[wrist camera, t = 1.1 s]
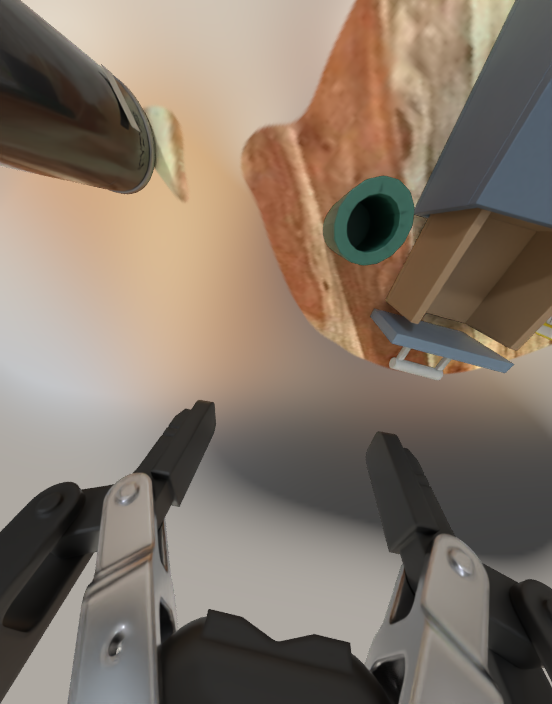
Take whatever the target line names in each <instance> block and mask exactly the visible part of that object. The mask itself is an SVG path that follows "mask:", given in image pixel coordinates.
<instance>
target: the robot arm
mask: <svg viewBox="0 0 552 704" xmlns="http://www.w3.org/2000/svg"><path fill="white" fill-rule="evenodd" d="M102 67H103V68H102ZM102 67H101V66H100V65H98V64H97V63H96V62H95V61H93V60H92V59H91V58H90V57H89V56H87V54H85V53H84V52H83V51H82V50H80V49H79V48H78V47H77V46H76V45H74V44H73V43H72V42H71V41H69V40H68V39H67V38H66V37H65V36H63V35H62V34H61V33H60V32H58V31H57V30H56V29H55V28H54V27H52V26H51V25H50V24H49V23H47V22H46V21H45V20H44V19H43V18H41V17H40V16H39V15H38V14H36V13H35V12H34V11H33V10H32V9H30V8H29V7H28V6H27V5H25V4H24V3H23V2H22V1H21V0H0V166H2V167H7V168H12V169H16V170H21V171H25V172H30V173H35V174H39V175H44V176H49V177H53V178H58V179H62V180H67V181H72V182H76V183H81V184H86V185H90V186H94V187H99V188H103V189H108V190H110V191H113V192H117V193H122V194H132V193H136V192H138V191H140V190H142V189H143V188H144V187H145V186H146V185H147V183H148V182H149V180H150V178H151V176H152V173H153V170H154V164H155V146H154V139H153V135H152V131H151V128H150V125H149V122H148V119H147V117H146V115H145V113H144V111H143V109H142V107H141V105H140V104H139V102H138V101H137V99H136V97H135V96H134V95H133V94H132V92H131V91H130V90H129V89H128V88H127V87H126V86H125V85H124V84H123V83H122V82H121V81H120V80H118V79H117V78H116V77H115V76H114V75H112V73H111V72H110V71H109V70H107V69H106V68H105V67H104V66H103V65H102ZM215 426H216V419H215V405H214V402H208V401H203V400H198V401H197V402H196V403H195V405H194V406H193V408H192V409H191V410H189V409H184V410H183V411H182V412H180V413H179V414H178V415H176V416H175V417H174V419H173V420H172V422H171V423H170V424H169V427H168V428H166V430H165V431H164V433H163V435H162V436H161V437H160V438H159V440H158V441H157V442H156V444H155V445H154V446H153V448H152V449H151V450H150V452H149V453H148V455H147V456H146V457H145V459H144V460H143V461H142V463H141V464H140V466H139V467H138V468H137V469H136V470H135V471H134V472H133V474H130V475H127V476H125V477H123V478H122V479H120V480H119V481H118V482H116V483H115V484H113V485H108V486H102V487H96V488H90V489H82V490H81V489H80V488H79V486H78V485H77V484H75V483H73V482H63V483H59V484H56V485H54V486H52V487H49V488H48V489H46V490H44V491H43V492H41V493H40V494H38V495H37V496H36V497H34V499H32V500H31V501H30V502H29V503H28V504H27V505H26V506H25V507H24V508H23V509H22V510H21V511H20V512H19V513H18V514H17V515H16V516H15V517H14V519H13V520H12V521H11V522H10V523H9V524H8V525H7V526H6V527H5V528H4V529H3V530H2V531H1V532H0V703H1V701H2V700H3V698H4V697H5V695H6V693H7V692H8V690H9V689H10V687H11V685H12V684H13V682H14V680H15V679H16V677H17V676H18V674H19V673H20V671H21V669H22V668H23V666H24V664H25V663H26V661H27V660H28V658H29V656H30V655H31V653H32V652H33V650H34V648H35V647H36V645H37V644H38V642H39V640H40V639H41V637H42V636H43V634H44V632H45V630H46V629H47V627H48V626H49V624H50V623H51V621H52V619H53V618H54V616H55V615H56V613H57V611H58V610H59V608H60V606H61V605H62V603H63V602H64V600H65V599H66V597H67V595H68V594H69V592H70V591H71V588H72V587H73V586H74V584H75V582H76V581H77V579H78V577H79V576H80V574H81V572H82V571H83V570H84V568H85V566H86V565H87V563H88V562H89V560H90V558H91V557H92V555H93V553H94V552H97V561H96V570H95V575H94V579H93V581H92V582H91V583H90V584H89V585H88V587H87V589H86V591H85V593H84V597H83V601H82V605H81V612H80V619H79V626H78V633H77V641H76V648H75V655H74V661H73V668H72V675H71V682H70V690H69V697H68V704H552V687H551V685H550V683H549V681H548V679H547V677H546V675H545V673H544V671H543V669H542V668H545V669H546V671H547V673H548V675H549V677H550V679H551V681H552V589H551V588H550V587H548V586H547V585H545V584H543V583H541V582H539V581H536V580H532V579H528V580H525V581H523V582H520V583H518V582H516V581H514V580H512V579H510V578H509V577H507V576H505V575H503V574H501V573H499V572H498V571H496V570H494V569H492V568H490V567H488V566H487V565H485V564H483V563H482V562H481V561H480V560H479V558H478V557H477V556H476V554H475V553H474V552H473V551H472V550H471V549H470V548H469V547H468V546H467V545H466V544H465V543H464V542H462V541H460V540H459V539H458V538H456V536H455V535H454V533H453V531H452V529H451V527H450V525H449V523H448V521H447V519H446V517H445V515H444V513H443V511H442V509H441V507H440V505H439V503H438V501H437V499H436V497H435V495H434V492H433V490H432V488H431V487H430V486H429V482H428V480H427V478H426V476H424V472H423V470H422V468H421V466H420V464H419V462H418V460H417V459H416V458H415V457H414V455H413V454H412V453H411V452H410V451H409V450H408V449H407V448H403V447H402V445H401V442H400V440H399V438H398V437H397V435H395V434H390V433H384V432H377V433H376V434H375V436H374V438H373V440H372V442H371V444H370V446H369V448H368V449H367V452H366V464H367V468H368V472H369V476H370V480H371V484H372V488H373V491H374V495H375V499H376V503H377V507H378V511H379V515H380V519H381V522H382V526H383V530H384V534H385V538H386V542H387V546H388V549H389V552H392V553H397V554H400V555H401V558H402V562H403V564H402V565H401V568H400V571H399V574H398V577H397V580H396V583H395V587H394V590H393V593H392V596H391V600H390V603H389V606H388V609H387V612H386V616H385V618H384V621H383V624H382V625H381V627H380V629H379V630H378V632H377V634H376V635H375V637H374V639H373V642H372V644H371V647H370V649H369V653H368V655H367V659H366V662H365V665H364V664H363V663H362V662H361V661H360V660H359V659H358V658H356V657H355V656H354V655H353V654H352V653H351V647H350V643H349V642H345V641H341V640H336V639H332V638H328V637H324V636H320V635H316V634H313V635H308V636H304V637H299V638H294V639H289V640H285V641H275V640H273V639H271V638H270V637H269V636H267V635H266V634H265V633H263V632H262V631H260V630H259V629H258V628H256V627H255V626H254V625H252V624H251V623H250V622H248V621H247V620H246V619H244V618H243V617H240V616H236V615H232V614H228V613H224V612H219V611H215V610H211V609H209V610H208V614H207V617H202V618H199V619H196V620H194V621H191V622H190V623H188V624H186V625H185V626H183V627H181V628H180V629H179V630H178V623H177V613H176V603H175V595H174V589H173V583H172V579H171V573H170V563H169V552H168V542H167V531H166V521H165V516H166V514H167V512H168V510H169V508H170V506H171V505H172V506H177V507H180V504H181V502H182V500H183V498H184V496H185V494H186V491H187V489H188V487H189V485H190V483H191V481H192V479H193V477H194V475H195V472H196V470H197V468H198V466H199V464H200V462H201V460H202V457H203V455H204V453H205V451H206V449H207V447H208V445H209V443H210V440H211V438H212V436H213V434H214V431H215ZM117 649H118V650H119V653H118V654H116V650H117Z"/></svg>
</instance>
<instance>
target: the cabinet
mask: <svg viewBox="0 0 552 704" xmlns="http://www.w3.org/2000/svg"><path fill="white" fill-rule="evenodd" d="M473 208H480V209H484V210H488V211H491V212H495V213H498V214H502V215H505V216H509V217H512V218H516V219H520V220H523V221H527V222H530V223H534V224H537V225H541V226H544V227H548V228H552V0H516V1H515V3H514V5H513V7H512V9H511V11H510V13H509V15H508V17H507V19H506V21H505V23H504V25H503V27H502V29H501V31H500V34H499V36H498V38H497V40H496V42H495V44H494V46H493V48H492V50H491V52H490V54H489V56H488V58H487V60H486V62H485V64H484V67H483V69H482V71H481V73H480V75H479V77H478V79H477V81H476V83H475V85H474V87H473V89H472V91H471V93H470V95H469V97H468V100H467V102H466V104H465V106H464V108H463V110H462V112H461V114H460V116H459V118H458V120H457V122H456V124H455V126H454V128H453V131H452V133H451V135H450V137H449V139H448V141H447V143H446V145H445V147H444V149H443V151H442V153H441V155H440V157H439V159H438V161H437V164H436V166H435V168H434V170H433V172H432V174H431V176H430V178H429V180H428V182H427V184H426V186H425V188H424V190H423V192H422V194H421V197H420V199H419V201H418V203H417V205H416V207H415V210H414V215H417V216H421V217H425V218H429V216H430V214H436V213H443V212H450V211H458V210H465V209H473Z"/></svg>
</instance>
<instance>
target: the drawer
mask: <svg viewBox="0 0 552 704" xmlns="http://www.w3.org/2000/svg"><path fill="white" fill-rule="evenodd" d="M385 301H386V302H387V303H389V304H390V305H391V306H392V307H393V308H395V309H396V310H397V311H398V312H399V313H400V314H402V315H403V316H401V315H397V314H394V313H390V312H386V311H382V310H379V309H374V310H373V312H372V314H371V316H370V317H371V318H372V319H373V321H374V322H375V323H376V324H377V326H378V327H379V328H380V329H381V331H382V332H383V333H384V334H385V336H386V337H387V338H388V340H389V341H390V342H391V343H392V344H396V345H400V346H403V348H402V349H401V351H400V353H399V354H398V356H397V357H396V358H395V357H394V358H392V359H391V360H390V362H389V367H390V368H392V369H396V370H400V371H403V372H407V373H411V374H415V375H419V376H423V377H426V378H430V379H434V380H440V379H441V378H442V377H443V371H442V370H443V369H444V368H445V367H446V366H447V364H448V363H449V362H450V361H451V360H452V359H453V360H457V361H461V362H464V363H468V364H472V365H476V366H480V367H483V368H487V369H491V370H495V371H499V372H503V373H506V372H507V371H508V370H509V369H510V368H511V367H512V366H513V365H514V364H513V363H512V362H510V361H508V360H507V359H505V358H504V357H502V356H500V355H499V354H497V353H496V352H494V351H492V350H491V349H489V348H488V347H486V346H484V345H483V344H481V343H480V342H478V341H476V340H475V339H473V338H472V337H470V336H468V335H467V334H465V333H464V332H461V331H457V330H454V329H450V328H446V327H442V326H439V325H435V324H431V323H427V322H424V321H421V319H422V318H423V316H424V315H425V313H428V314H432V315H436V316H439V317H443V318H447V319H451V320H454V321H458V322H462V323H465V324H467V325H469V326H471V327H472V328H474V329H476V330H478V331H479V332H481V333H483V334H485V335H486V336H488V337H490V338H492V339H494V340H495V341H497V342H499V343H501V344H502V345H504V346H506V347H508V348H509V349H513V350H518V349H519V348H520V347H521V346H522V345H523V344H524V343H525V342H526V341H527V340H528V339H529V338H530V337H531V336H532V335H533V334H534V333H535V332H536V331H537V330H538V329H539V328H540V327H541V326H542V325H543V324H544V323H545V322H546V321H547V320H548V319H549V318H550V317H551V316H552V228H548V227H544V226H541V225H537V224H534V223H530V222H527V221H523V220H520V219H516V218H512V217H509V216H505V215H502V214H498V213H495V212H491V211H488V210H484V209H480V208H473V209H465V210H458V211H450V212H443V213H436V214H430V216H429V218H428V220H427V222H426V224H425V225H424V227H423V229H422V231H421V233H420V235H419V237H418V239H417V241H416V243H415V245H414V246H413V248H412V250H411V252H410V254H409V256H408V258H407V260H406V262H405V264H404V266H403V267H402V269H401V271H400V273H399V275H398V277H397V279H396V281H395V283H394V285H393V286H392V288H391V290H390V292H389V294H388V296H387V298H386V300H385ZM410 349H415V350H419V351H423V352H426V353H430V354H434V355H438V356H442V357H443V358H442V359H441V360H440V362H439V363H438V364H437V366H436V367H435V368H433V367H429V366H425V365H421V364H418V363H414V362H410V361H406V360H404V358H405V357H406V355H407V354H408V352H409V351H410Z"/></svg>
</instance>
